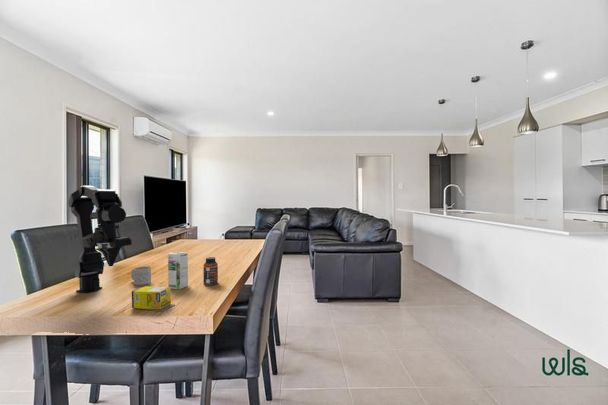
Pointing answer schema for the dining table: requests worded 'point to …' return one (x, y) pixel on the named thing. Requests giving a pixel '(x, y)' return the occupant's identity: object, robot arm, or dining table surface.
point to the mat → (163, 308)
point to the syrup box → (177, 270)
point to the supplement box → (151, 297)
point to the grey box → (141, 275)
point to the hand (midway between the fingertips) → (111, 266)
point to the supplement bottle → (210, 271)
